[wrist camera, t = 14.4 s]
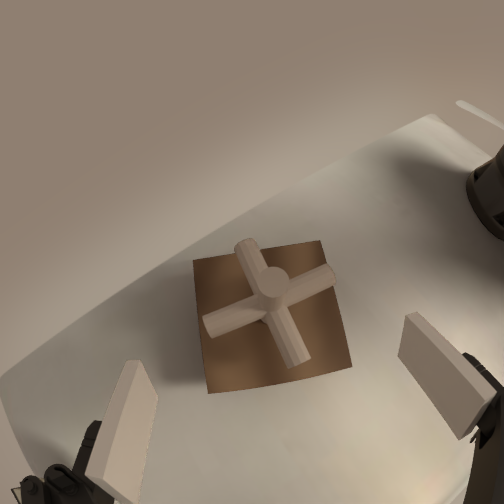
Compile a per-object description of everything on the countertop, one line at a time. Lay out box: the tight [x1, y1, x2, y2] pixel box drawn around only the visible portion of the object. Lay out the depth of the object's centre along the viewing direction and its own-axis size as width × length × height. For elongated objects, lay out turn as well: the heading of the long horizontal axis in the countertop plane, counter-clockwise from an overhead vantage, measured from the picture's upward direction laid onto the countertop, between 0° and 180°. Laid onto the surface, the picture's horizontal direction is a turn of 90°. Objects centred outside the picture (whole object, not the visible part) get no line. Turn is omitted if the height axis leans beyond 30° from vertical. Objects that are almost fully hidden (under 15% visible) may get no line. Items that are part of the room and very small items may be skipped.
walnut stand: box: [193, 240, 352, 394], centre depth 27 cm, size 13×13×5 cm
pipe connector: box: [202, 239, 336, 369], centre depth 20 cm, size 10×10×10 cm
